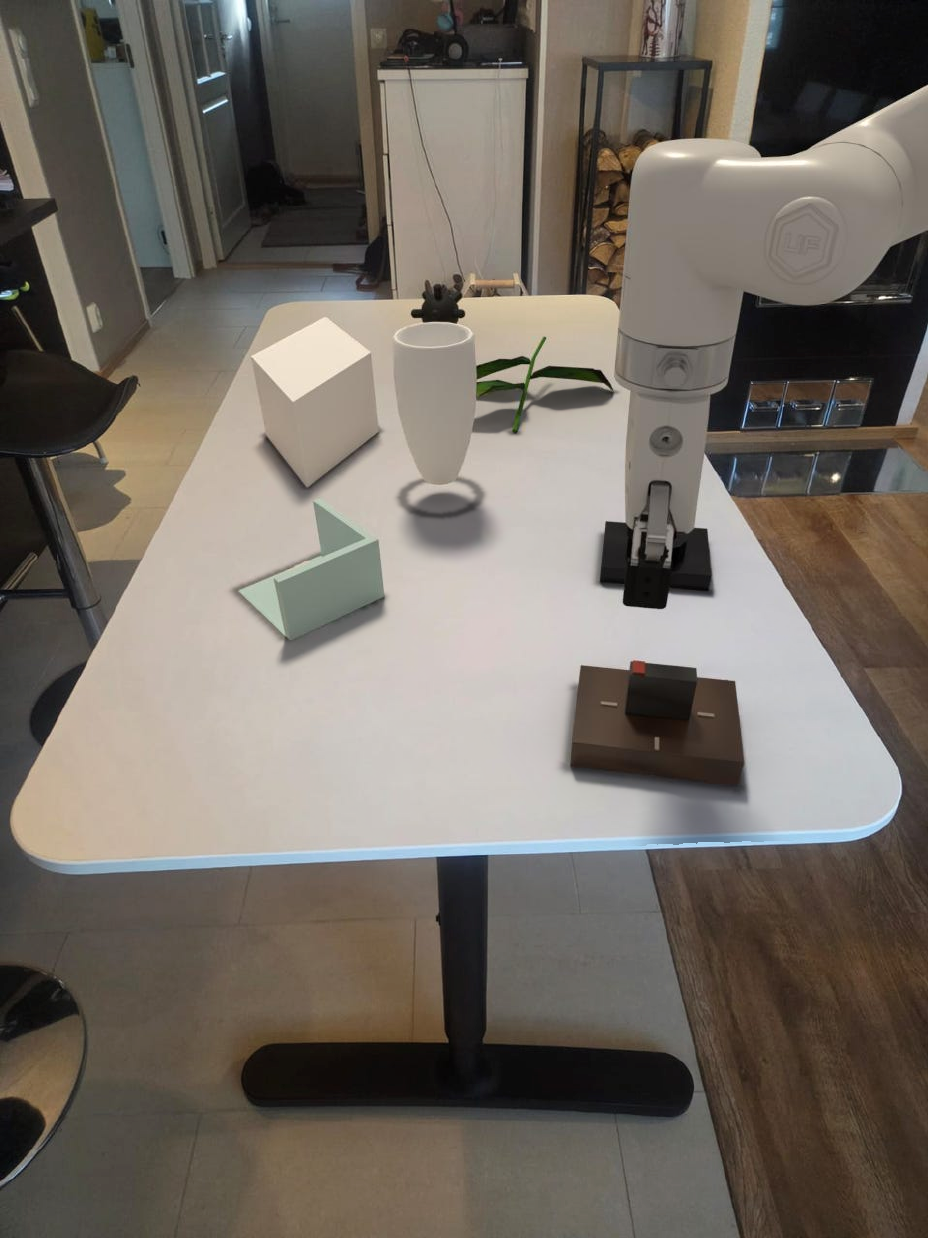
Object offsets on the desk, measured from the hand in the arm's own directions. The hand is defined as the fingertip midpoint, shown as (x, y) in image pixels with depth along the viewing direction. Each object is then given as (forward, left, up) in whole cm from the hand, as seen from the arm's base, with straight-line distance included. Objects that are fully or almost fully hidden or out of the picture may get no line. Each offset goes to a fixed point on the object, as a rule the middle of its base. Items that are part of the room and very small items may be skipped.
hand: (644, 569), depth 64 cm
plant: (+17, -70, -17) cm, 74 cm away
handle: (-2, +2, -13) cm, 14 cm away
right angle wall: (+36, -14, -17) cm, 42 cm away
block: (+48, -55, -17) cm, 75 cm away
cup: (+26, -38, -17) cm, 49 cm away
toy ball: (+40, -101, -17) cm, 110 cm away
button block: (-2, -26, -16) cm, 31 cm away
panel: (-2, +2, -16) cm, 17 cm away
